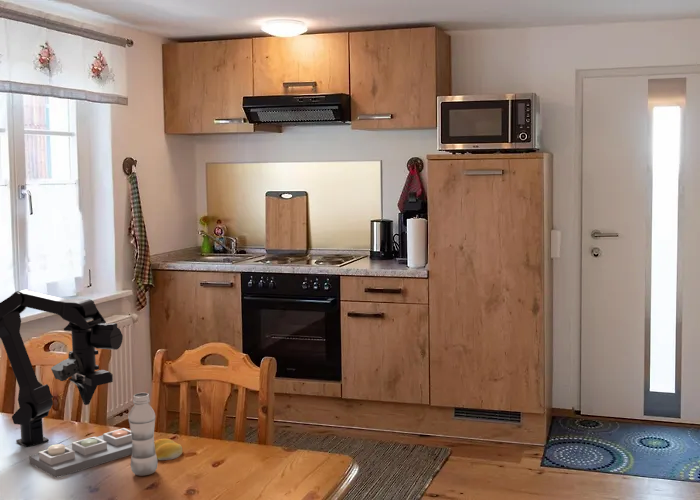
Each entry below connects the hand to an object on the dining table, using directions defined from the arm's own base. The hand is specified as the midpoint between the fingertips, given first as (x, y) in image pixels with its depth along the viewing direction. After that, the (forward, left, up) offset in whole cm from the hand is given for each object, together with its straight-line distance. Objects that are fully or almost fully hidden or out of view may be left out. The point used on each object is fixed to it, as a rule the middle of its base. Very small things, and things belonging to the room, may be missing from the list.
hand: (86, 404), depth 222 cm
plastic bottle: (+27, 0, -12) cm, 30 cm away
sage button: (+6, -3, -10) cm, 12 cm away
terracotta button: (+6, +6, -10) cm, 13 cm away
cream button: (+6, -12, -9) cm, 16 cm away
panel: (+6, -3, -12) cm, 14 cm away
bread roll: (+20, +11, -12) cm, 26 cm away
